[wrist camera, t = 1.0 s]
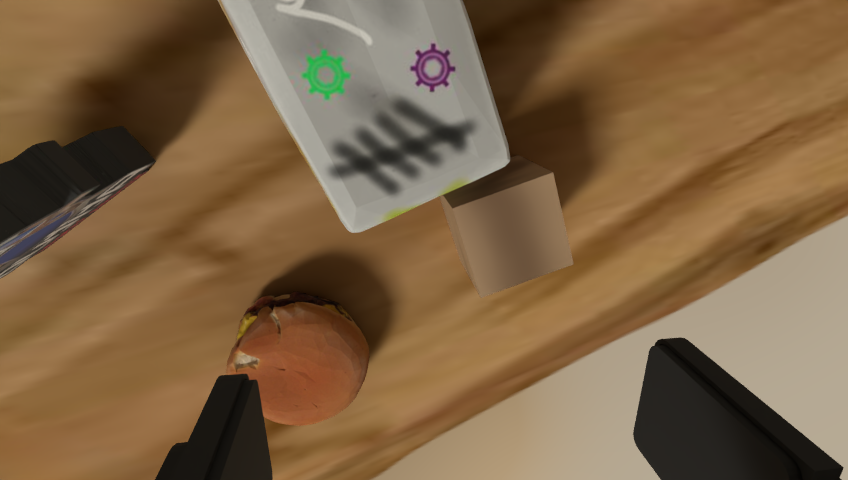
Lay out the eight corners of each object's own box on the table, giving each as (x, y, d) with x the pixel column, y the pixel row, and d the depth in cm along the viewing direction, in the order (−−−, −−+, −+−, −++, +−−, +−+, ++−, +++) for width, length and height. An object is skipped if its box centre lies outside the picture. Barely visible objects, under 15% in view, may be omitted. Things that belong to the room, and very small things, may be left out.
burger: (361, 398, 36) (362, 442, 32) (238, 396, 35) (221, 442, 30) (373, 285, 33) (375, 317, 29) (238, 277, 31) (219, 309, 27)
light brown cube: (517, 154, 31) (553, 172, 25) (537, 232, 33) (573, 264, 28) (435, 184, 31) (452, 208, 25) (460, 260, 33) (480, 297, 28)
